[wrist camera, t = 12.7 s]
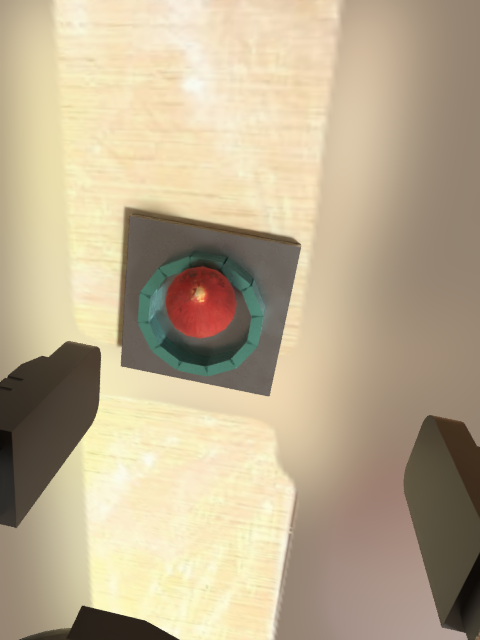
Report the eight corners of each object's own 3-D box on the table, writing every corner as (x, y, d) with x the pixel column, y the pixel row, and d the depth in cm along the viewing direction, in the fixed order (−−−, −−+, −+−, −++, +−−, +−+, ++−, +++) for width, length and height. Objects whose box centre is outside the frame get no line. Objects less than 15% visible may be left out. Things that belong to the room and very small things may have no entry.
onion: (166, 285, 42) (152, 259, 34) (228, 274, 42) (229, 246, 34) (176, 348, 41) (165, 336, 33) (240, 336, 41) (243, 322, 33)
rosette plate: (133, 213, 41) (121, 219, 38) (301, 244, 40) (300, 252, 37) (124, 361, 47) (113, 376, 44) (270, 391, 46) (267, 407, 43)
